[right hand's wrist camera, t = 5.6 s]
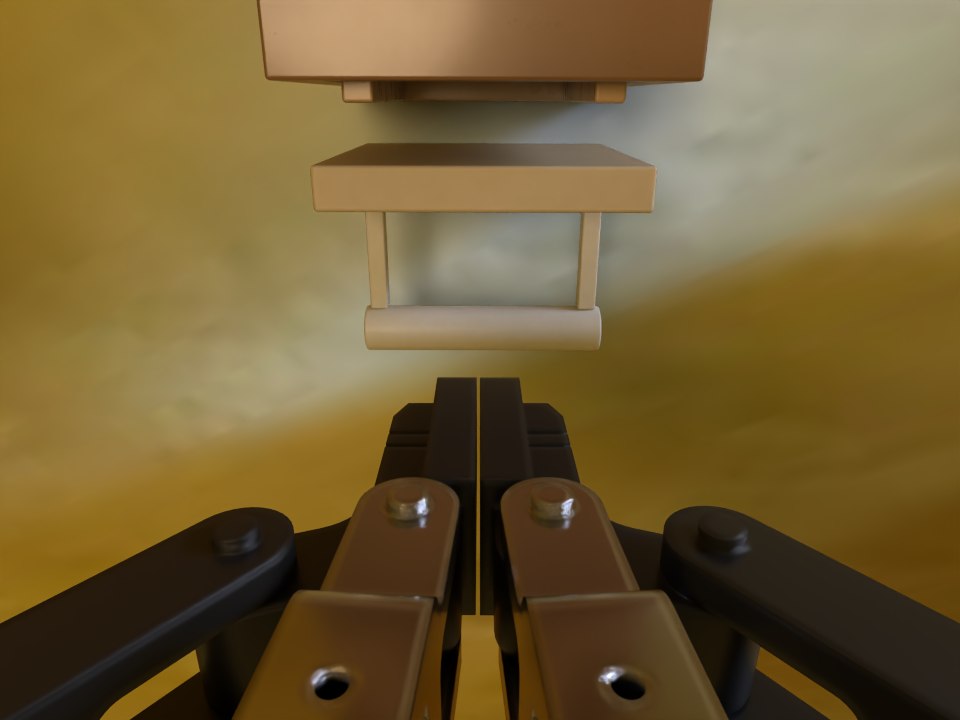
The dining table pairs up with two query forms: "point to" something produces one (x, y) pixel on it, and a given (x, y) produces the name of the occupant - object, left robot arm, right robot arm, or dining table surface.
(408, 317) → the drawer
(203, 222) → the dining table surface
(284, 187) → the dining table surface
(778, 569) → the right robot arm
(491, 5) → the cabinet
